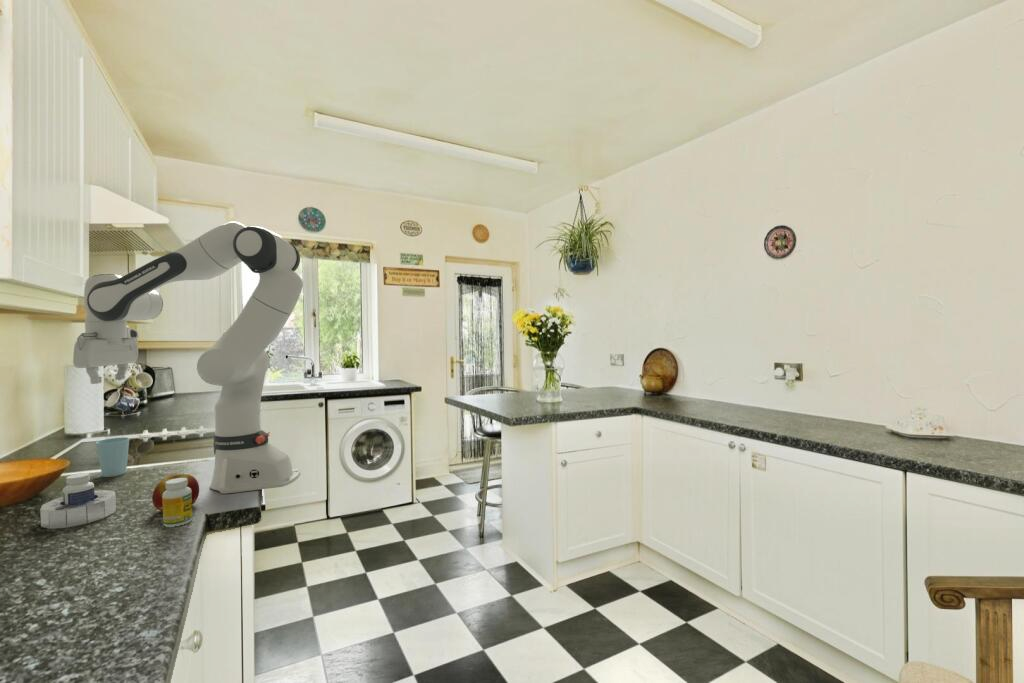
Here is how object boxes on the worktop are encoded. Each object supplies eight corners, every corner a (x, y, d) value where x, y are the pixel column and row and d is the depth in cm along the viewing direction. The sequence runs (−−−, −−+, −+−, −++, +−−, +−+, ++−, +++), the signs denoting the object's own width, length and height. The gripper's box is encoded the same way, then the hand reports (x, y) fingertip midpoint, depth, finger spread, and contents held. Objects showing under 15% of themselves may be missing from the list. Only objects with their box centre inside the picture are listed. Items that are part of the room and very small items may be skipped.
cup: (123, 476, 138) (122, 441, 137) (92, 479, 135) (90, 444, 135) (135, 469, 145) (133, 436, 144) (105, 472, 142) (103, 438, 142)
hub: (128, 504, 115) (127, 487, 114) (90, 526, 102) (89, 506, 102) (71, 508, 113) (70, 491, 113) (25, 530, 100) (24, 511, 100)
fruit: (183, 516, 107) (181, 482, 107) (142, 517, 106) (141, 483, 106) (208, 501, 116) (207, 469, 116) (170, 502, 116) (169, 470, 116)
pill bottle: (101, 512, 110) (99, 472, 110) (78, 522, 105) (76, 479, 104) (81, 511, 111) (79, 471, 110) (57, 521, 105) (55, 479, 105)
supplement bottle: (169, 519, 105) (168, 477, 105) (196, 516, 107) (195, 475, 106) (158, 529, 100) (156, 485, 100) (187, 526, 101) (185, 482, 101)
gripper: (91, 332, 120) (93, 385, 120) (142, 332, 140) (144, 377, 140) (63, 333, 119) (66, 386, 119) (119, 332, 139) (120, 378, 140)
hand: (108, 381), depth 130 cm, fingers open, 8 cm apart
